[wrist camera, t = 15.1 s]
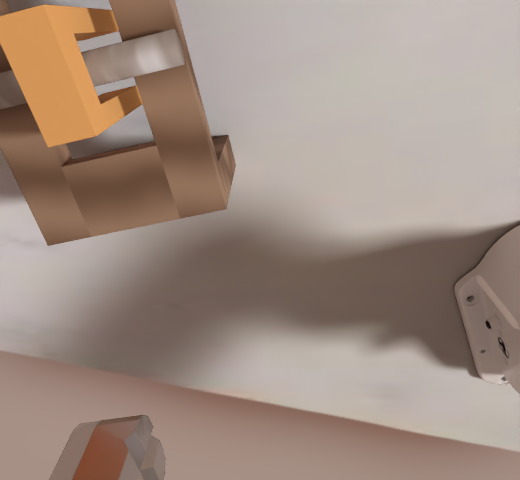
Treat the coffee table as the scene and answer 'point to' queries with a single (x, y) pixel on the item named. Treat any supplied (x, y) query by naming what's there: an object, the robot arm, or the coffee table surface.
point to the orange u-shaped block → (62, 71)
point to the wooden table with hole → (131, 158)
